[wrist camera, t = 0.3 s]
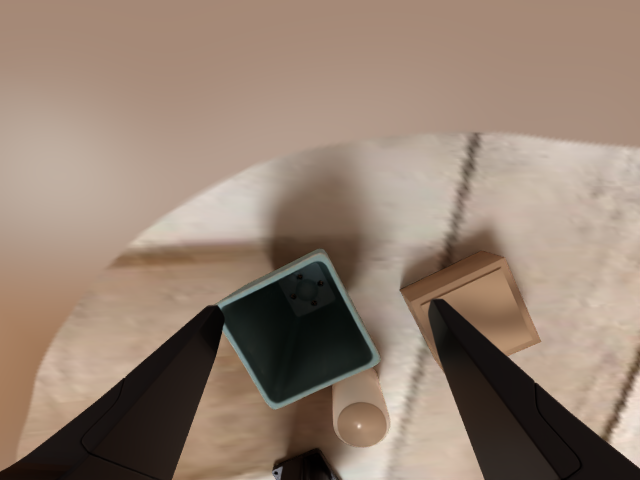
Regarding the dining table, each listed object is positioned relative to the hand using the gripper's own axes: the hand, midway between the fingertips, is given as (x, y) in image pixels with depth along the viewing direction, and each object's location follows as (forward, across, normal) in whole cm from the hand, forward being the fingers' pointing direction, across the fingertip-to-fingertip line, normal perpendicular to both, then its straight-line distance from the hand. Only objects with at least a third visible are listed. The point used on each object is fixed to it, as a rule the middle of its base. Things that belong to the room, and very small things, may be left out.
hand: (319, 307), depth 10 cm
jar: (+6, -1, +20) cm, 21 cm away
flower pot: (+10, +3, +10) cm, 15 cm away
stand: (+10, -12, +13) cm, 21 cm away
